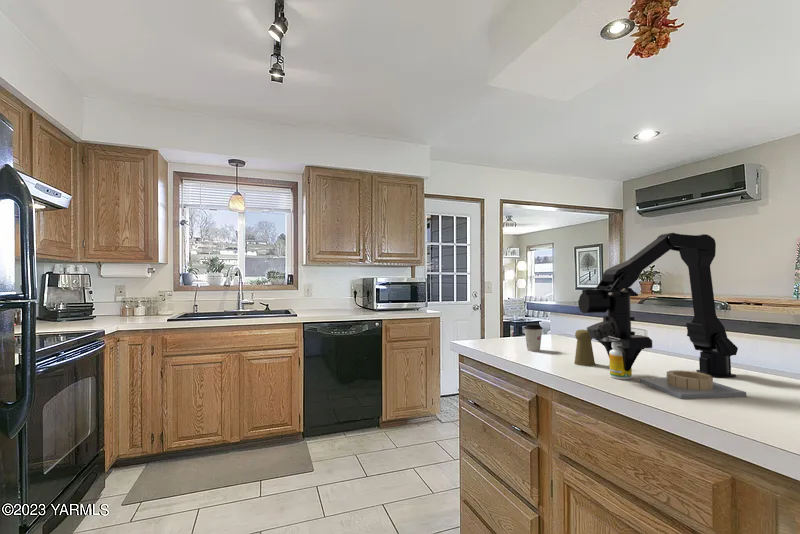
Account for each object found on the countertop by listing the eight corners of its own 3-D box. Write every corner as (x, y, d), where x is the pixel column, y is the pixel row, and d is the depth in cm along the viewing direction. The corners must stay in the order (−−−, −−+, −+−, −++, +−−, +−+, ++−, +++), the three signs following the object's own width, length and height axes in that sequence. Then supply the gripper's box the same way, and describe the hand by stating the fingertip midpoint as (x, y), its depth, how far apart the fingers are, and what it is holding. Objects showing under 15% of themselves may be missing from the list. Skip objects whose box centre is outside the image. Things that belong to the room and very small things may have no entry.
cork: (574, 365, 123) (574, 330, 123) (574, 361, 129) (573, 328, 129) (596, 366, 121) (595, 331, 121) (594, 362, 126) (593, 329, 127)
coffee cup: (522, 351, 147) (521, 324, 147) (526, 348, 153) (526, 322, 153) (541, 352, 143) (540, 325, 144) (545, 349, 149) (544, 323, 150)
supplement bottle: (616, 374, 112) (615, 340, 112) (635, 378, 107) (634, 343, 107) (606, 377, 109) (605, 342, 109) (625, 381, 104) (624, 345, 104)
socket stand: (696, 380, 104) (696, 367, 104) (746, 396, 90) (745, 381, 90) (639, 382, 103) (639, 368, 103) (680, 398, 89) (680, 383, 89)
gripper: (574, 310, 117) (575, 361, 117) (611, 316, 98) (612, 378, 98) (609, 309, 118) (610, 360, 117) (653, 315, 99) (654, 376, 99)
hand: (620, 368), depth 108 cm, fingers closed on supplement bottle, 5 cm apart
